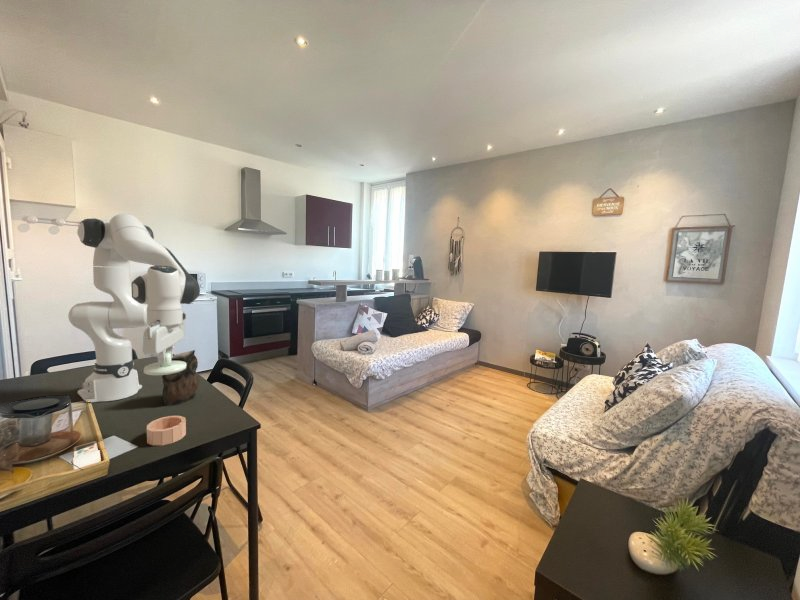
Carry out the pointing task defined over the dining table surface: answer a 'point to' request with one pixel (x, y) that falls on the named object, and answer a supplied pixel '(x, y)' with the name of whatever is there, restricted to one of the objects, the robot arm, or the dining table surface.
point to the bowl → (166, 430)
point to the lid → (165, 367)
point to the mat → (108, 448)
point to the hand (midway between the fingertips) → (165, 360)
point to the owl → (181, 381)
